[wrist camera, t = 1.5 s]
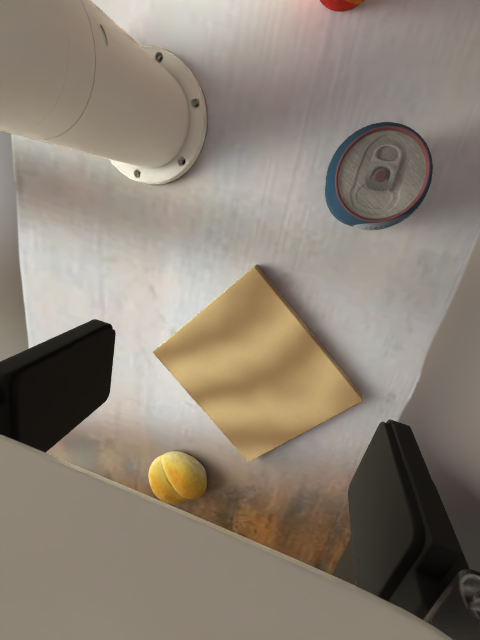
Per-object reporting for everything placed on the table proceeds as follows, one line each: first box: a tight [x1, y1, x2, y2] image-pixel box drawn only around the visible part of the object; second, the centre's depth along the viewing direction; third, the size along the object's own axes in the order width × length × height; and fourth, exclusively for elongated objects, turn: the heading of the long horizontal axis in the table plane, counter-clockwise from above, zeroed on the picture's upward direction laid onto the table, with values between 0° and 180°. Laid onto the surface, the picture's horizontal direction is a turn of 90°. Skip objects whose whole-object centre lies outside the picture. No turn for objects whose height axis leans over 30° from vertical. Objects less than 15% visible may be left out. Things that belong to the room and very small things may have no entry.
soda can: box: [325, 122, 433, 230], centre depth 26 cm, size 7×7×12 cm
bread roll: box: [149, 451, 207, 505], centre depth 47 cm, size 8×9×4 cm
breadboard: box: [153, 265, 363, 462], centre depth 40 cm, size 20×18×2 cm
